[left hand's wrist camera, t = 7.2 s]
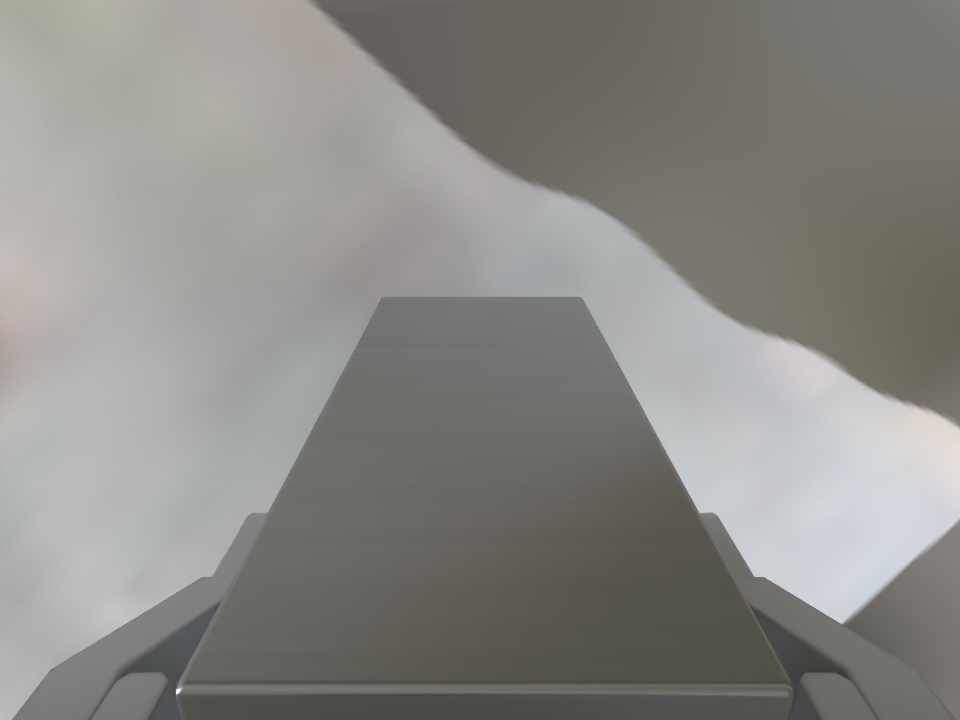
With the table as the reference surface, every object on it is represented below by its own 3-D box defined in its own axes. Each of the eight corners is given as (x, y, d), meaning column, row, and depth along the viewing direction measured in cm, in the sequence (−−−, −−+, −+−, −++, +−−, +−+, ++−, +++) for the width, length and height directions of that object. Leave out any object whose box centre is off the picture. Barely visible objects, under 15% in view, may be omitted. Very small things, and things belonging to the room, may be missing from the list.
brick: (582, 296, 14) (802, 690, 5) (570, 506, 17) (702, 1090, 7) (381, 296, 14) (167, 690, 5) (393, 506, 17) (265, 1089, 7)
